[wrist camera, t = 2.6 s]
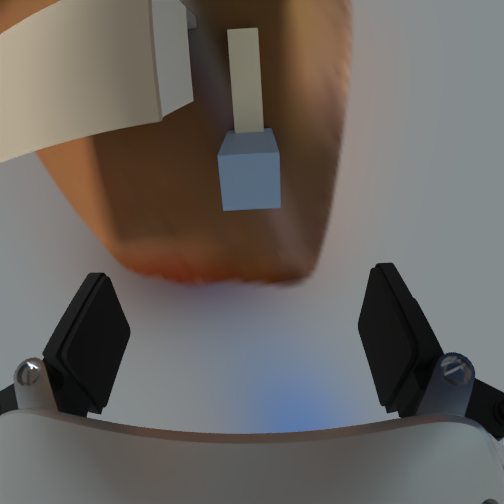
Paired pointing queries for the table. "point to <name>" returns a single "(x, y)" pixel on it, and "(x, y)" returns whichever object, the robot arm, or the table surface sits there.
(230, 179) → the light blue block
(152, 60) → the cabinet
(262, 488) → the robot arm
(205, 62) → the table surface
